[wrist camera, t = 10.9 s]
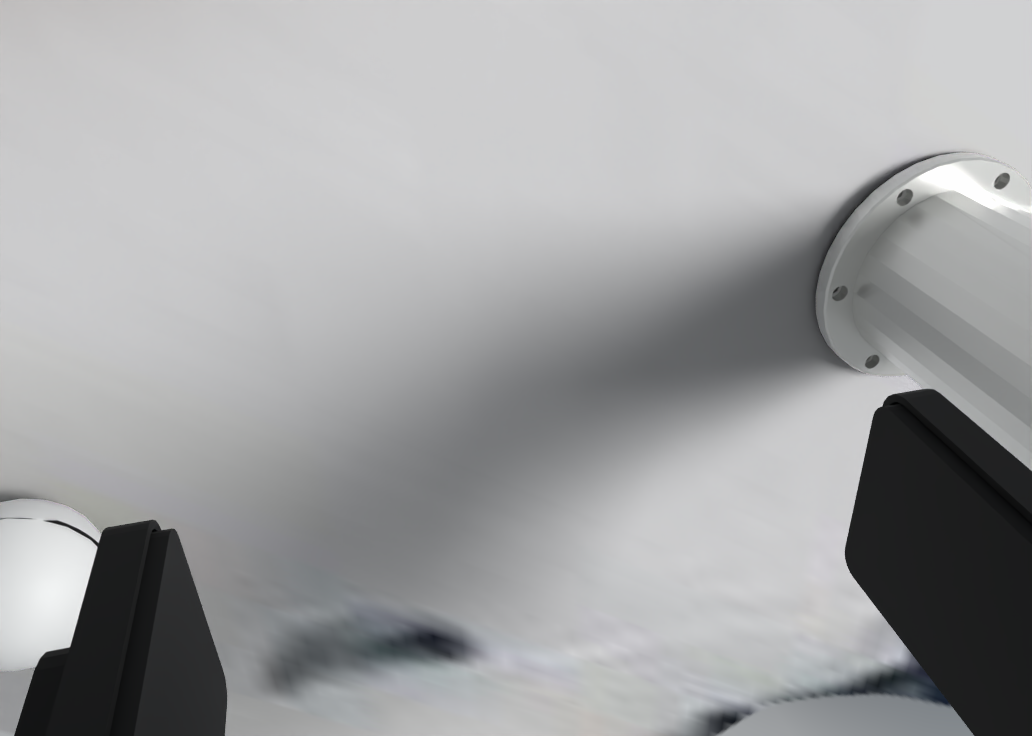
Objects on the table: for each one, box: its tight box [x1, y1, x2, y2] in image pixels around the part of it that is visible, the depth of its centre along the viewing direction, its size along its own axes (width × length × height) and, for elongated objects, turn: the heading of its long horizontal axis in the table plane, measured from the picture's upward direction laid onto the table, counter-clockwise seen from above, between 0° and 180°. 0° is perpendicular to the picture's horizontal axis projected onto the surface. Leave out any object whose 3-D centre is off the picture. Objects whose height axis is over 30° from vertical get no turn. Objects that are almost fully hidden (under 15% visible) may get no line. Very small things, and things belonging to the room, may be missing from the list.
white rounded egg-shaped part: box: [0, 499, 101, 671], centre depth 37 cm, size 10×7×7 cm
